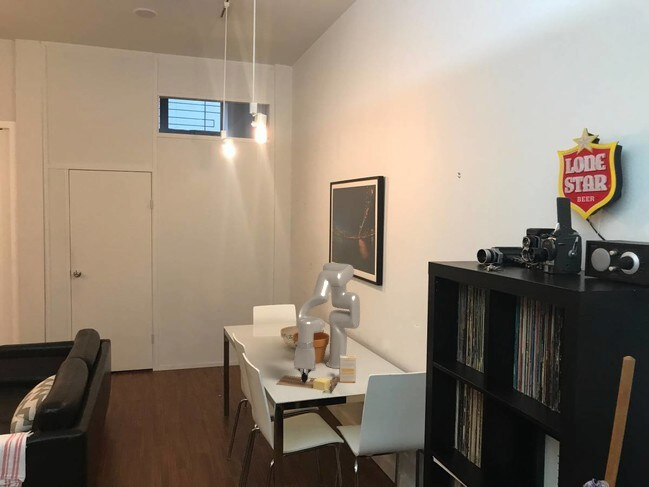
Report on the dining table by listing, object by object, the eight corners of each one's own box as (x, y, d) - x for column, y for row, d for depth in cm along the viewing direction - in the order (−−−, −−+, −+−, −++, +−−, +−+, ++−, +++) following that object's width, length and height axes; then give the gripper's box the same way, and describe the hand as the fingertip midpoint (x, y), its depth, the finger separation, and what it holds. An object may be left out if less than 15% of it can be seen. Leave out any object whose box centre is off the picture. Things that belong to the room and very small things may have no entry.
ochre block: (318, 385, 250) (318, 377, 250) (329, 387, 248) (330, 379, 248) (313, 388, 245) (313, 380, 245) (324, 391, 242) (324, 382, 242)
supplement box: (354, 379, 264) (355, 355, 264) (355, 383, 260) (356, 357, 259) (338, 379, 264) (339, 354, 263) (339, 382, 259) (340, 357, 259)
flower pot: (324, 367, 285) (325, 341, 284) (288, 363, 289) (288, 338, 288) (331, 356, 305) (332, 332, 304) (297, 353, 309) (298, 329, 309)
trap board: (284, 377, 264) (284, 371, 264) (337, 383, 258) (337, 376, 258) (275, 387, 249) (275, 380, 249) (331, 393, 243) (331, 386, 243)
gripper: (288, 345, 248) (287, 382, 249) (318, 348, 245) (317, 385, 246) (292, 341, 255) (291, 377, 256) (322, 344, 252) (320, 380, 253)
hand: (304, 381), depth 251 cm, fingers closed
